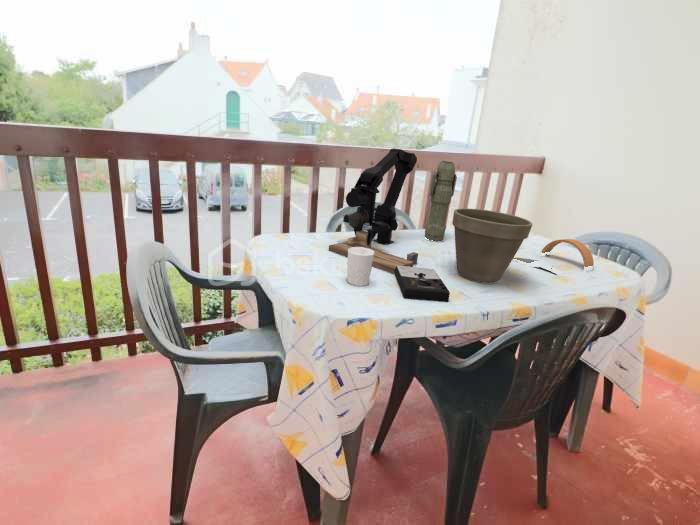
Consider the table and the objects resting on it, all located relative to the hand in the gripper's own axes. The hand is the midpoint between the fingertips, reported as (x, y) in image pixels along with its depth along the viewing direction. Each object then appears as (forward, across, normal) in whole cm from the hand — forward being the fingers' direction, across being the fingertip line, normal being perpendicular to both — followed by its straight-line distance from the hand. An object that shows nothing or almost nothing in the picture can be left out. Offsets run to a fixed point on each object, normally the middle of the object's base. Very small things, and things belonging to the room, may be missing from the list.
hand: (363, 243), depth 149 cm
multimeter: (+2, +36, -17) cm, 40 cm away
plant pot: (+2, +44, +11) cm, 45 cm away
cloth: (+3, +55, +44) cm, 71 cm away
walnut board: (+2, +10, -6) cm, 12 cm away
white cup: (+2, +22, -29) cm, 36 cm away
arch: (+2, +62, +61) cm, 87 cm away
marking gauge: (+1, 0, -3) cm, 4 cm away
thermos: (+2, +10, +40) cm, 42 cm away
